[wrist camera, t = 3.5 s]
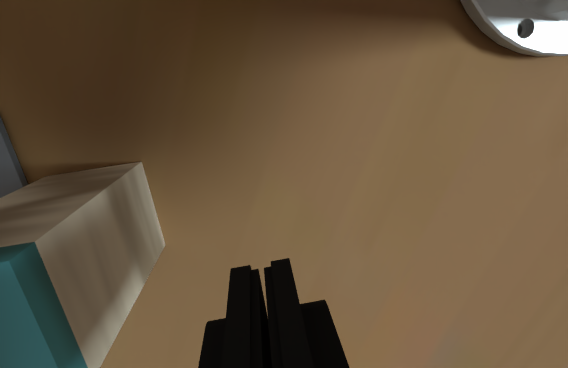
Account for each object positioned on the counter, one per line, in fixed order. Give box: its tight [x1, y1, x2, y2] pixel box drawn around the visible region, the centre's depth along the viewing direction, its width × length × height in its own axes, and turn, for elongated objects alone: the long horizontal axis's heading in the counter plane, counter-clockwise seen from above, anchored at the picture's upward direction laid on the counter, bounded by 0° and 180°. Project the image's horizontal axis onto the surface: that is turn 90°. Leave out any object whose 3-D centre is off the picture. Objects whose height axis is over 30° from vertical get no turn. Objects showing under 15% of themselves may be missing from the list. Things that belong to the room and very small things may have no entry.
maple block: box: [0, 162, 165, 368], centre depth 14 cm, size 5×5×10 cm
